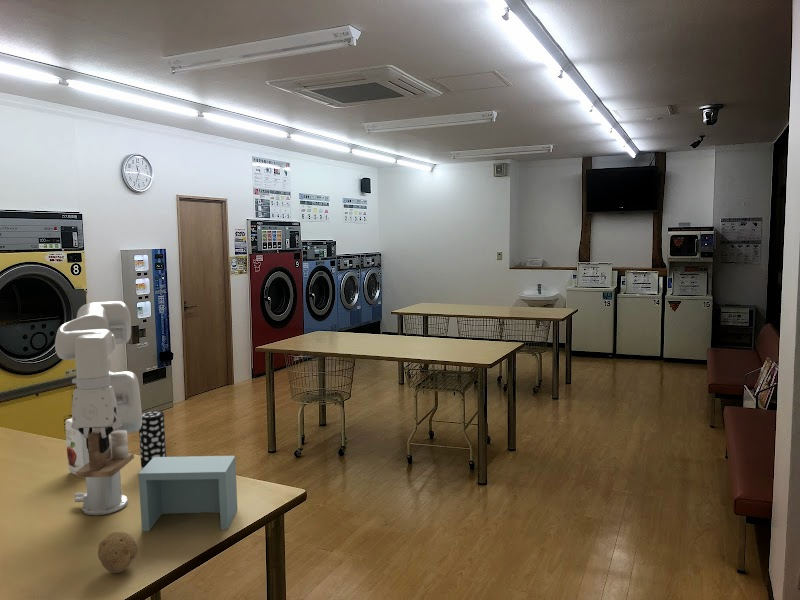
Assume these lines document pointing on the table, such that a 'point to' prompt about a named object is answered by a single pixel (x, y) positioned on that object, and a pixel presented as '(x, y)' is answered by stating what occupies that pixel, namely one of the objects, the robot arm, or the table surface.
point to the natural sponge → (117, 551)
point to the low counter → (188, 487)
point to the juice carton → (74, 448)
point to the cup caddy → (106, 455)
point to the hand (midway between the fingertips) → (98, 450)
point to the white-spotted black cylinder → (152, 436)
